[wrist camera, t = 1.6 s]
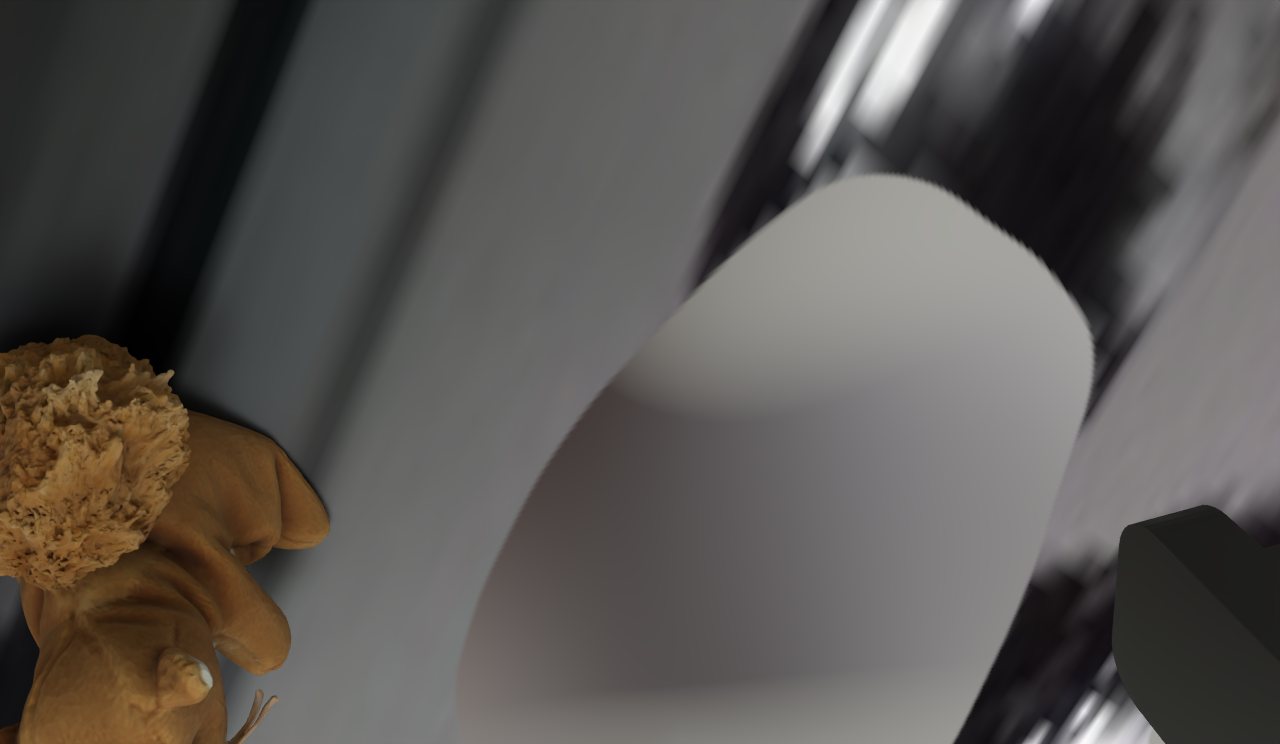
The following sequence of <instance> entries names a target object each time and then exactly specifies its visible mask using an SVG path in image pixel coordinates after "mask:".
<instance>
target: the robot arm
mask: <svg viewBox="0 0 1280 744" xmlns="http://www.w3.org/2000/svg"><path fill="white" fill-rule="evenodd" d="M1112 647H1113V654H1114V659H1115V663H1116V666H1117V669H1118V672H1119V675H1120V678H1121V680H1122V682H1123V685H1124V687H1125V689H1126V691H1127V692H1128V694H1129V696H1130V698H1131V699H1132V701H1133V702H1134V704H1135V705H1136V707H1137V708H1138V709H1139V711H1140V712H1141V713H1142V714H1143V716H1144V717H1145V718H1146V720H1147V721H1148V722H1149V723H1150V725H1151V726H1152V727H1153V729H1154V730H1155V731H1156V732H1157V734H1158V735H1159V736H1160V737H1161V739H1162V740H1163V741H1164V742H1165V744H1280V544H1279V545H1275V546H1271V547H1268V548H1264V549H1263V548H1262V547H1261V546H1260V545H1259V544H1258V543H1257V542H1256V541H1254V540H1253V539H1252V538H1251V537H1250V536H1249V535H1248V534H1247V533H1246V532H1245V531H1243V530H1242V529H1241V528H1240V527H1239V526H1238V525H1237V524H1236V523H1235V522H1234V521H1232V520H1231V519H1230V518H1229V517H1228V516H1227V515H1226V514H1224V513H1223V512H1222V511H1220V510H1218V509H1217V508H1215V507H1212V506H1209V505H1201V506H1198V507H1194V508H1190V509H1187V510H1183V511H1179V512H1175V513H1172V514H1168V515H1164V516H1161V517H1157V518H1153V519H1149V520H1146V521H1142V522H1138V523H1135V524H1131V525H1128V526H1127V527H1126V528H1125V529H1124V530H1123V532H1122V534H1121V537H1120V543H1119V555H1118V568H1117V581H1116V594H1115V607H1114V619H1113V632H1112Z"/></svg>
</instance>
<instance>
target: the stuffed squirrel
mask: <svg viewBox="0 0 1280 744" xmlns="http://www.w3.org/2000/svg"><path fill="white" fill-rule="evenodd" d="M148 364H149V359H142V360H137V359H136V358H135V357H132V356H131V355H130V354H129V353H128V349H127V347H120V346H119V345H117V344H112V343H110V342H108V341H107V340H106V339H105V338H102V337H100V336H97V335H83V336H81V337H79V338H77V339H72V340H70V339H69V338H68V337H67V338H56V339H55V340H54V341H53V343H50V344H48V345H47V344H45V343H42V342H40V343H38V344H37V343H35V342H30V343H28V344H27V345H24V346H19V348H18V349H14V350H11V351H9V352H8V353H0V576H3V575H9V576H12V577H16V578H17V580H18V582H19V584H20V589H21V601H22V607H23V611H24V615H25V618H26V621H27V624H28V627H29V629H30V631H31V633H32V635H33V637H34V639H35V641H36V643H37V645H38V646H39V648H40V654H39V658H38V661H37V664H36V668H35V673H34V680H33V686H32V688H31V690H30V693H29V695H28V698H27V700H26V703H25V706H24V710H23V714H22V719H21V722H19V723H17V724H15V725H12V726H8V727H5V728H3V729H1V730H0V744H242V743H243V741H244V740H245V739H246V738H247V737H248V736H249V735H250V734H251V732H252V731H253V730H254V729H256V727H257V726H258V724H259V723H260V721H261V720H262V719H263V718H264V716H265V715H266V714H267V712H268V711H269V709H270V708H271V707H272V706H273V705H274V703H276V702H278V700H279V699H278V697H277V696H272V697H271V698H270V699H269V701H268V702H267V703H266V704H265V706H264V707H263V709H262V711H261V713H260V715H259V717H258V719H257V721H256V722H255V724H254V725H253V726H252V727H251V728H250V726H251V725H252V724H253V722H254V720H255V718H256V715H257V714H258V711H259V709H260V706H261V703H262V700H263V697H264V693H263V692H262V690H257V691H256V693H255V700H254V703H253V706H252V709H251V711H250V714H249V717H248V719H247V722H246V723H245V725H244V726H243V727H242V729H241V730H240V731H239V732H238V733H237V734H236V736H235V737H233V738H232V739H231V740H230V741H226V735H227V709H226V704H225V693H224V688H223V682H222V677H221V670H220V666H219V663H218V660H217V657H216V653H215V650H217V651H219V652H220V653H221V654H223V655H224V656H225V657H227V658H228V659H229V660H231V661H233V662H234V663H236V664H237V665H239V666H240V667H242V668H244V669H245V670H247V671H248V672H250V673H252V674H256V675H264V674H266V673H268V672H270V671H271V670H276V669H278V668H280V667H281V666H282V665H283V663H284V661H285V660H286V658H287V655H288V653H289V650H290V645H291V633H290V627H289V624H288V621H287V619H286V617H285V615H284V614H283V612H282V611H281V609H280V608H279V607H278V606H277V604H276V603H275V602H274V601H273V600H272V598H271V597H270V596H269V595H268V594H267V593H266V592H265V591H264V590H263V589H262V588H261V587H260V586H259V585H258V584H257V582H256V581H255V579H254V578H253V577H252V575H251V574H250V573H249V572H248V571H247V570H246V569H245V568H244V567H247V566H248V565H250V564H252V563H254V562H256V561H258V560H259V559H261V558H263V557H264V556H265V555H266V554H267V553H268V552H269V551H270V550H271V548H272V547H275V548H280V549H304V548H310V547H314V546H316V545H317V544H319V543H320V542H322V541H323V539H324V538H325V537H326V536H327V535H328V533H329V531H330V520H329V518H328V515H327V513H326V511H325V508H324V506H323V504H322V502H321V501H320V499H319V498H318V496H317V494H316V493H315V492H314V490H313V489H312V487H311V486H310V485H309V484H308V482H307V481H306V480H305V479H304V477H303V476H302V474H301V473H300V471H299V470H298V469H297V468H296V467H295V465H294V464H293V463H292V462H291V460H290V459H289V458H288V457H287V455H286V454H285V452H284V451H283V450H282V449H281V448H280V447H279V446H278V445H277V444H276V443H275V442H274V441H273V440H271V439H270V438H268V437H266V436H264V435H262V434H260V433H257V432H255V431H253V430H250V429H248V428H245V427H242V426H239V425H237V424H234V423H231V422H228V421H225V420H221V419H218V418H216V417H212V416H209V415H206V414H203V413H198V412H194V411H191V410H188V409H186V408H183V404H182V403H181V402H180V400H179V397H178V395H175V394H172V393H171V391H172V388H171V387H169V386H168V384H167V383H168V381H169V379H170V378H171V377H172V376H173V375H174V371H173V370H169V371H168V372H167V373H161V374H159V375H158V376H156V375H155V373H154V372H153V367H152V366H151V365H150V364H149V365H148ZM249 728H250V729H249Z"/></svg>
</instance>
